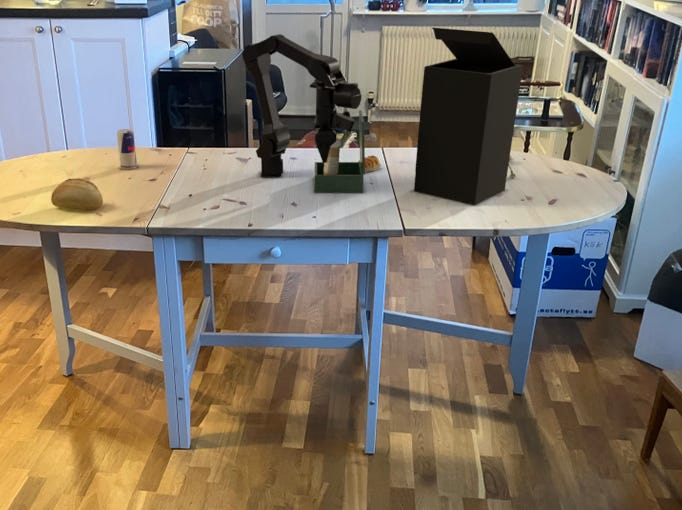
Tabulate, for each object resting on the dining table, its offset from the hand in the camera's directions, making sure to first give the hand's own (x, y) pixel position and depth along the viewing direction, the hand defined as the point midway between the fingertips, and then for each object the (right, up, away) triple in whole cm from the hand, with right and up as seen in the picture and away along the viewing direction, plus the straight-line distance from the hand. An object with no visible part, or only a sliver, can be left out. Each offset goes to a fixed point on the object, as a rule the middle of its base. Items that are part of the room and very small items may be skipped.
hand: (324, 158), depth 224 cm
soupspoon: (+60, +1, +17) cm, 63 cm away
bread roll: (-71, -17, -10) cm, 74 cm away
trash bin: (+40, -10, -2) cm, 42 cm away
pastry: (+15, +1, +18) cm, 24 cm away
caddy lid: (+11, +4, -3) cm, 12 cm away
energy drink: (-64, +3, +24) cm, 68 cm away
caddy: (+4, -7, +4) cm, 9 cm away
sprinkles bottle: (+2, -6, +4) cm, 8 cm away
